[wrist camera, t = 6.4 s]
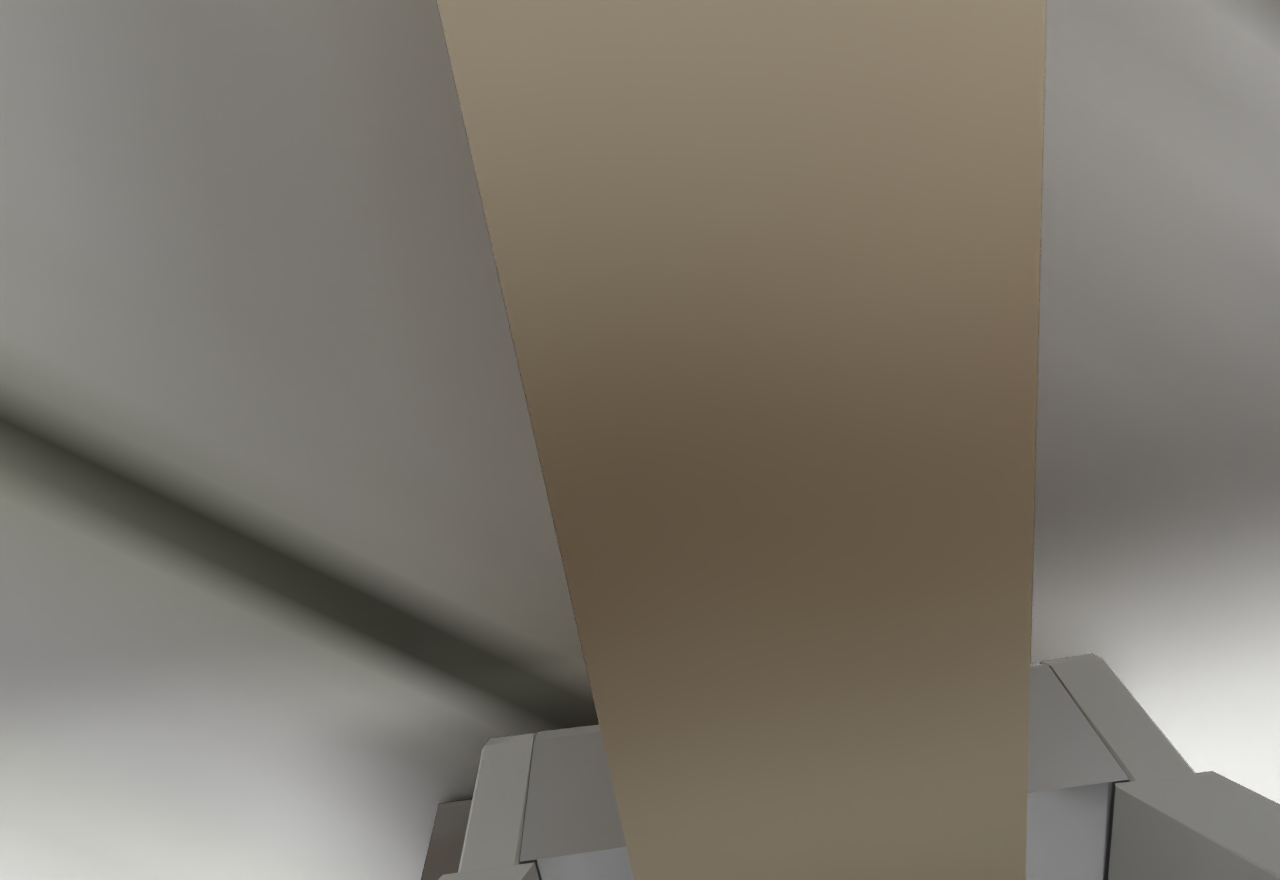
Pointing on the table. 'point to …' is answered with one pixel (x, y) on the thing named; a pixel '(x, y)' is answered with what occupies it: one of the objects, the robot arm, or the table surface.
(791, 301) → the scraper
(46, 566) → the table surface
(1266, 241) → the table surface
